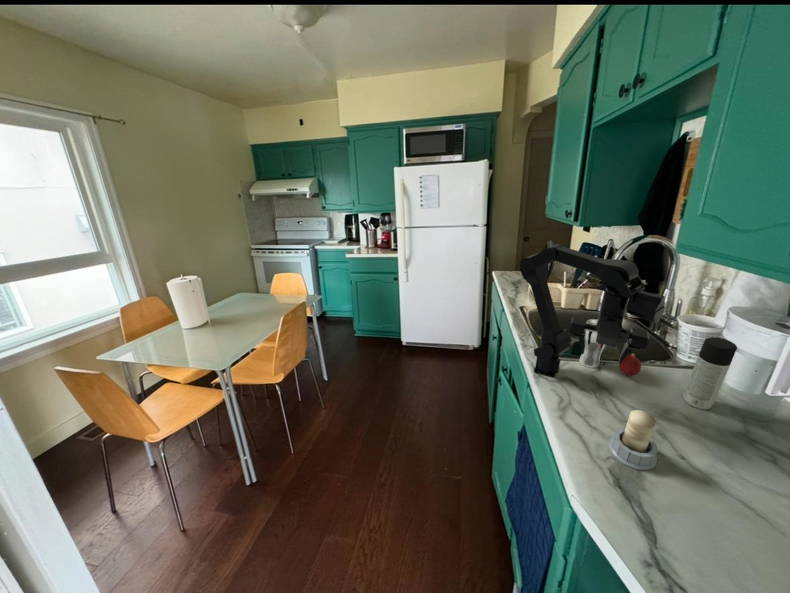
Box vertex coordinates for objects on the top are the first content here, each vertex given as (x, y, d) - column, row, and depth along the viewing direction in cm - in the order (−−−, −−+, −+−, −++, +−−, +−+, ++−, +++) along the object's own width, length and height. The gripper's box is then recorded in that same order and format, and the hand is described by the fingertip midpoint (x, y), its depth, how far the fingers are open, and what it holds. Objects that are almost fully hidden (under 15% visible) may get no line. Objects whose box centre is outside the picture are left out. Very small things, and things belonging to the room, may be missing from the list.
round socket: (607, 459, 85) (610, 448, 84) (609, 431, 93) (612, 421, 92) (657, 477, 81) (662, 465, 79) (655, 446, 88) (659, 435, 87)
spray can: (718, 409, 99) (745, 348, 91) (695, 411, 99) (720, 350, 90) (697, 393, 105) (721, 335, 97) (676, 395, 105) (698, 336, 96)
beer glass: (602, 370, 116) (612, 330, 110) (578, 366, 119) (587, 327, 112) (599, 358, 122) (608, 320, 116) (576, 355, 125) (584, 317, 118)
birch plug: (616, 449, 87) (626, 416, 83) (625, 439, 90) (635, 407, 86) (639, 462, 84) (651, 429, 79) (647, 451, 86) (659, 418, 82)
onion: (641, 382, 111) (647, 360, 107) (620, 380, 112) (626, 358, 108) (633, 370, 116) (639, 350, 112) (614, 369, 117) (619, 348, 114)
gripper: (570, 313, 93) (561, 363, 99) (657, 330, 84) (640, 383, 90) (575, 297, 101) (566, 344, 108) (654, 310, 92) (639, 360, 99)
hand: (601, 357), depth 101 cm, fingers open, 9 cm apart
